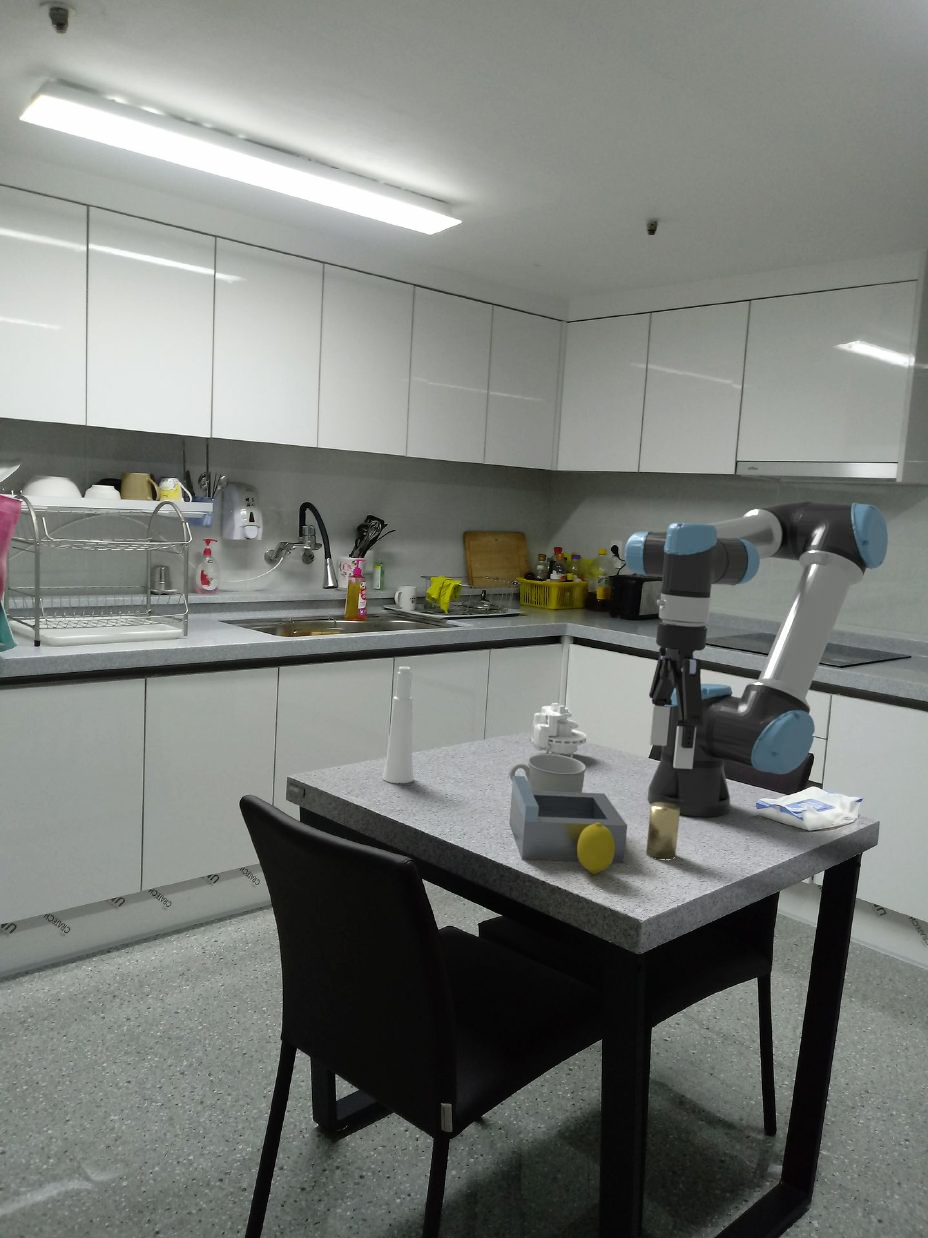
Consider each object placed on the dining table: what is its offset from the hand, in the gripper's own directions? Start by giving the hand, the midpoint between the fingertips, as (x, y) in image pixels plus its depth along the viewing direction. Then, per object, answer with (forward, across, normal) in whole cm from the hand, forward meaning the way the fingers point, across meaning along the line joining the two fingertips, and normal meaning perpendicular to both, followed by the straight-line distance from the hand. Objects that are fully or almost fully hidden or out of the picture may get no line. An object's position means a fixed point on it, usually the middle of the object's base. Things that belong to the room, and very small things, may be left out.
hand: (669, 756), depth 147 cm
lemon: (+17, +9, -13) cm, 23 cm away
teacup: (+16, -24, -15) cm, 33 cm away
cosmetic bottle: (+16, -35, -42) cm, 57 cm away
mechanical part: (+16, -57, -7) cm, 60 cm away
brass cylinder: (+16, 0, 0) cm, 16 cm away
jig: (+16, -4, -15) cm, 22 cm away
